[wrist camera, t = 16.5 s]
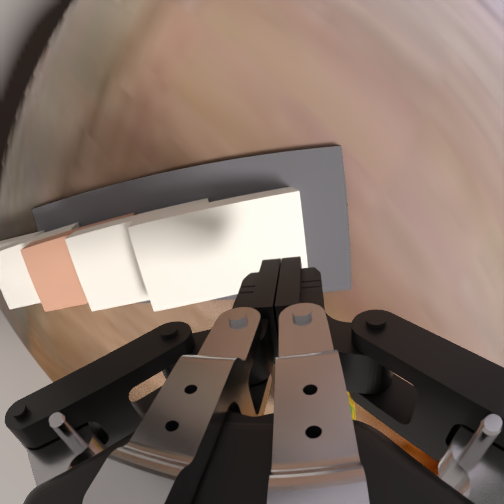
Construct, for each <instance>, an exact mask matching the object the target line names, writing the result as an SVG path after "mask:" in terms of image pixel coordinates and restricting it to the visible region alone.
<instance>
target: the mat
mask: <svg viewBox="0 0 504 504" xmlns="http://www.w3.org/2000/svg"><path fill="white" fill-rule="evenodd" d="M285 187H292V188H294V189H296V190H299V192H300V200H301V208H302V216H303V225H304V234H305V243H306V253H307V263H308V268H310V267H315V268H316V269H317V270H318V271H319V272H320V273H321V280H322V289H323V292H331V291H341V290H351V261H350V239H349V222H348V208H347V196H346V185H345V175H344V166H343V157H342V149H341V146H330V147H319V148H310V149H301V150H292V151H284V152H276V153H269V154H262V155H255V156H249V157H242V158H236V159H230V160H224V161H218V162H213V163H207V164H202V165H197V166H192V167H187V168H182V169H177V170H172V171H168V172H163V173H159V174H154V175H150V176H146V177H141V178H137V179H133V180H129V181H125V182H121V183H117V184H114V185H110V186H106V187H102V188H99V189H95V190H92V191H88V192H85V193H81V194H78V195H74V196H71V197H68V198H65V199H61V200H58V201H55V202H52V203H49V204H46V205H43V206H40V207H37V208H34V209H32V213H33V217H34V220H35V224H36V227H37V230H38V232H39V231H44V232H49V231H52V230H55V229H58V228H61V227H65V226H68V225H71V224H74V223H78V222H79V226H80V227H83V226H87V225H90V224H94V223H97V222H101V221H104V220H108V219H112V218H115V217H119V216H123V215H127V214H131V213H134V212H135V215H137V214H141V213H145V212H149V211H153V210H157V209H161V208H166V207H170V206H174V205H179V204H183V203H187V202H192V201H196V200H201V199H205V198H208V201H209V202H213V201H218V200H223V199H228V198H232V197H237V196H243V195H248V194H253V193H258V192H263V191H269V190H274V189H280V188H285ZM236 297H237V294H235V295H231V296H226V297H222V298H217V299H212V300H225V299H236ZM137 303H151V301H150V300H147V301H142V302H137ZM87 304H89V303H87Z"/></svg>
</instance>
